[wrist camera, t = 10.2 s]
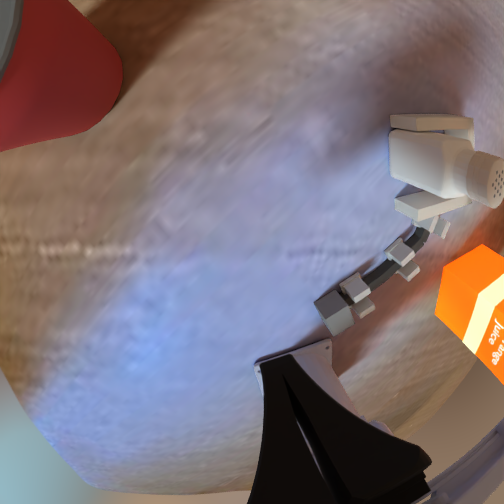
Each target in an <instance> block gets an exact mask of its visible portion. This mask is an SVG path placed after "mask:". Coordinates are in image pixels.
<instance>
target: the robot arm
mask: <svg viewBox="0 0 504 504" xmlns="http://www.w3.org/2000/svg"><path fill="white" fill-rule="evenodd" d="M253 368H254V371H255V374H256V377H257V380H258V383H259V386H260V389H261V392H262V395H263V397H264V419H263V434H262V442H261V450H260V456H259V461H258V466H257V471H256V475H255V479H254V483H253V486H252V490H251V493H250V497H249V499H248V502H247V504H416V503H418V502H419V501H421V500H422V499H424V498H426V497H427V496H429V495H430V494H431V498H430V499H429V500H427V501H425V502H424V503H422V504H483V503H484V502H485V501H486V500H487V499H488V497H489V496H490V495H491V494H492V493H493V492H494V491H495V490H496V488H498V486H499V485H500V484H501V483H502V481H504V418H503V419H502V420H501V421H500V422H499V423H498V424H497V425H496V426H495V428H493V429H492V430H491V431H490V432H489V434H487V435H486V436H485V437H484V438H483V439H482V440H481V441H480V442H479V443H478V444H477V445H476V446H475V447H473V448H472V449H471V450H470V451H469V452H468V453H466V454H465V455H464V456H463V457H461V458H460V459H459V460H458V461H456V462H455V463H454V464H453V465H451V466H450V467H449V468H447V469H446V470H445V471H443V472H442V473H441V474H439V475H438V476H436V477H435V478H434V479H432V480H430V481H429V482H428V483H426V481H425V479H424V478H425V477H426V476H425V474H424V472H423V471H424V470H425V469H426V468H427V467H428V466H429V465H431V463H432V461H431V459H430V457H429V456H428V455H427V454H426V453H425V451H424V450H423V449H421V448H420V447H419V446H418V445H415V444H412V443H409V442H407V441H404V440H401V439H399V438H397V437H394V435H393V434H392V432H391V431H390V429H389V428H388V427H387V426H386V425H385V424H384V423H383V422H378V421H376V420H373V421H371V422H369V423H368V422H367V421H366V419H365V417H364V416H361V417H360V415H359V413H358V412H357V410H356V408H355V407H354V405H353V403H352V401H351V400H350V398H349V396H348V395H347V393H346V391H345V389H344V388H343V386H342V384H341V382H340V381H339V379H338V377H337V376H336V374H335V372H334V371H333V369H332V341H331V340H330V339H325V340H322V341H320V342H317V343H314V344H311V345H309V346H306V347H303V348H300V349H298V350H295V351H292V352H289V353H286V354H283V355H280V356H277V357H274V358H271V359H268V360H264V361H261V362H258V363H256V364H254V366H253Z"/></svg>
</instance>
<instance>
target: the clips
mask: <svg viewBox="0 0 504 504" xmlns="http://www.w3.org/2000/svg"><path fill="white" fill-rule="evenodd" d="M411 224H413V225H415V226H417V227H419V228H420V227H423V228H424V229H426V230H428V231H430V233H435V234H436V235H438V236H440V237H442V238H443V239H444V238H445V235H446V233H447V231H448V228H449V226H450V224H451V223H449V222H448V221H446V220H444V219H442V218H440V217H439V215H436V216H433V217H430V218H428V219H425V220H422V221H419V222H417V221H415V220H412V222H411ZM384 252H385V254H386V256H387V258H388V260H390V261H391V260H392V259H393V260H394V261H396V262H397V263H398V264H399V265H401V266H402V267H401V268H400V269H398V270H397V271H396V272H395V274H396V275H397V274H398V273H399V274H400V275H401V276H402V277H403V278H405V279H406V280H407V281H408V282H409V281H410V280H411V279H412V278H413V277H414V276H415V275H416V274H417V273H418V272H419V271H420V268H419V266H418V265H417V264H416V263H414V262H413V261H412V260H411V259H412V258H413V257H414V256H415V253H414V250H412V249H411V248H410V247H408V246H407V245H405V244H404V243H403V240H402V239H401V238H400V237H399V238H398V239H397V240H396V241H395V242H394V243H393V244H391V245H390V246H389V247H388V248H387V249H386V250H385V251H384ZM339 285H340V288H341V290H342V293H343V294H344V295H345V294H346V293H347V294H348V295H349V296H350V298H351V299H352V300H353V301H354V302H355V303H354V304H352V305H351V306H349V309H351V308H352V309H353V310H354V311H355V312H356V313H357V315H358V316H359V317H360V318H363V317H364V316H366V315H367V314H369V313H370V312H372V311H373V310H375V305H374V303H373V302H372V301H371V300H370V299H369V298H368V297H367V295H369V294H370V293H371V291H370V288H369V287H368V286H367V285H366V284H365V283H364V282H363V281H362V279H361V276H360V274H359V273H358V272H357V273H355V274H354V275H352V276H351V277H349V278H348V279H346V280H344V281H343V282H341V283H340V284H339Z"/></svg>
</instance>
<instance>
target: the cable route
mask: <svg viewBox="0 0 504 504" xmlns="http://www.w3.org/2000/svg"><path fill="white" fill-rule="evenodd" d="M429 234H430V231H428V230H426V229H424V228H423V227H420V228H419V227H417V229H416V231H415V233H414V235H413V236H412V237H411V238H410V239H409V240H408V241H407V242H405V243H404V244H405V245H407V246H408V247H410V248H411V249H412V250H414V253H416V252H417V251H418V250H419V249H420V248H421V247H422V246H423V245H424V243H423V242H425V243H426V241H427V238H428V236H429ZM401 267H402V266H401V265H399V264H398V263H397V262H396V261H394V260H393V259H392V260H391V261H390V260H388V259H387V260H386V261H385V262H384V263H383V264H382V265H381V266H379V267H378V268H377V269H376V270H375V271H374V272H372V273H371V274H369V275H368V276H366V277H365V278H363V279H362V281H363V282H364V283H365V284H366V285H367V286H368V287H369V288H370V291H371V292H372V291H373V290H375V289H376V288H377V287H379V286H380V285H382V283H384V282H385V281H386V280H388V279H389V278H390V277H391V276H392V275H393V274H394V273H395V272H396V271H397V270H398V269H400V268H401ZM354 303H355V302H354V301H353V300H352V299H351V298H350V296H349V295H348V294H347V293H346V294H345V295H344V294H343V293H341V294H338V292H337V291H336V290H333V291H332V292H330V293H329V294H327V295H325V296H324V297H322V298H321V299H319V300H317V301H316V302H314V305H315V306H316V308H317V310H318V312H319V314H320V316H321V318H322V320H323V322H324V323H325V325H326V326H327V328H328V329H329V331H330V332H331V334H332V335H333V337H335V336H336V335H338V334H340V333H341V332H343V331H344V330H346V329H347V328H349V327H351V326H352V325H354V324H355V322H354V320H353V317H352V314H351V311H350V309H349V306H351V305H352V304H354Z"/></svg>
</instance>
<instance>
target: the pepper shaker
mask: <svg viewBox="0 0 504 504" xmlns="http://www.w3.org/2000/svg"><path fill="white" fill-rule="evenodd" d="M389 171H390V175H391V176H392V177H393V178H396V179H398V180H401V181H403V182H406V183H408V184H411V185H413V186H416V187H418V188H421V189H423V190H425V191H428V192H430V193H432V194H435V195H437V196H439V197H441V198H444V199H449V198H457V197H462V196H465V195H467V196H468V197H469V198H471V199H473V200H476V201H478V202H480V203H482V204H484V205H486V206H488V207H491V208H494V209H495V208H496V207H497V206H499V205H500V204H501V202H502V200H503V198H504V160H503V159H501V158H500V157H497V156H494V155H490V154H488V153H485V152H481V151H474V148H473V146H472V143H471V141H470V140H467V139H463V138H459V137H455V136H450V135H446V134H441V133H436V132H431V131H412V130H406V129H395V130H393V131H391V132H390V133H389Z"/></svg>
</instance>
